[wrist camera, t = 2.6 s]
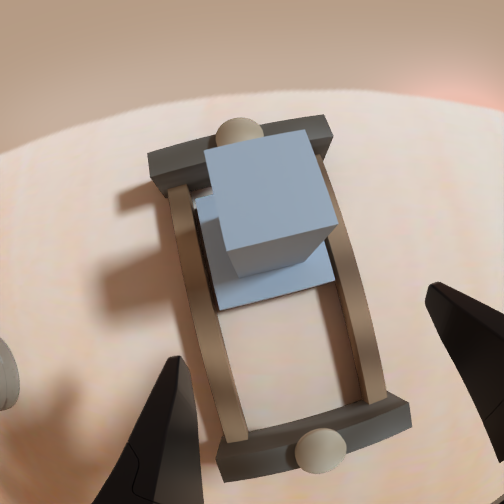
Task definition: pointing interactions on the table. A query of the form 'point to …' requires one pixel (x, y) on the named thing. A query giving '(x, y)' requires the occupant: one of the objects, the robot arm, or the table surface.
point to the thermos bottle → (8, 378)
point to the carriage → (266, 219)
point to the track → (212, 344)
